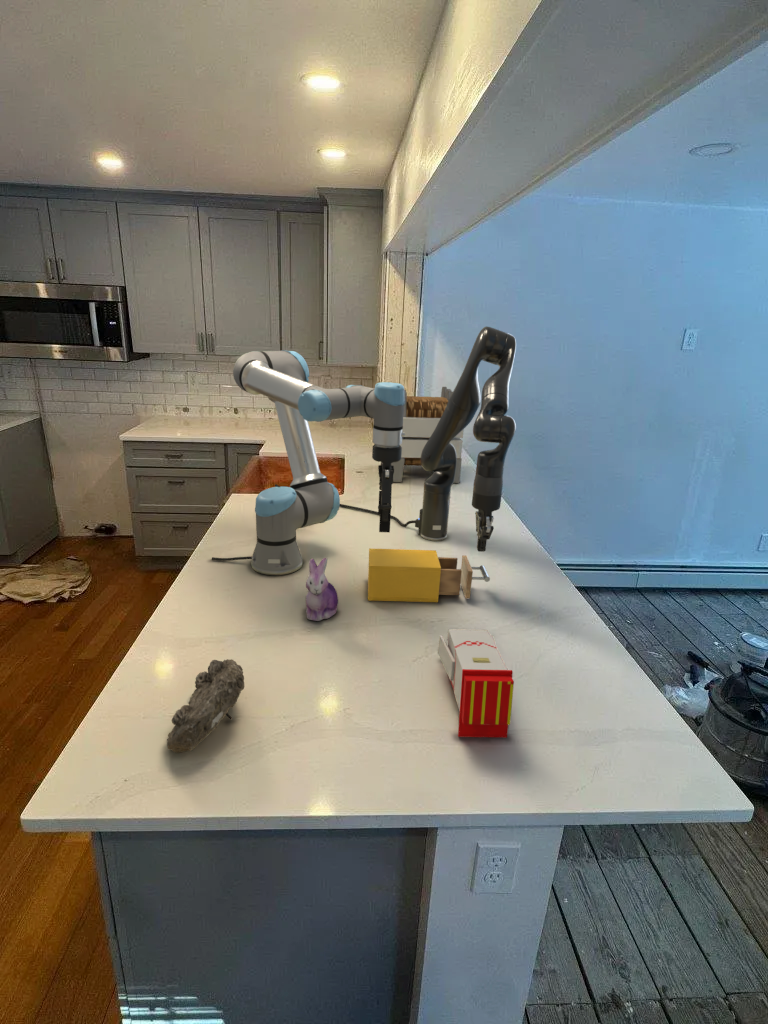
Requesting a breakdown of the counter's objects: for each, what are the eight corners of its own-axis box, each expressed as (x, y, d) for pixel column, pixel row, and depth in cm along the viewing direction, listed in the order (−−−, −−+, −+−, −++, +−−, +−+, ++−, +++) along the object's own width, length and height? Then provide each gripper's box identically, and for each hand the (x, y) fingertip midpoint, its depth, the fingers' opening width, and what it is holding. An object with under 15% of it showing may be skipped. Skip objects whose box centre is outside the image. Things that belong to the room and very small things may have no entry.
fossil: (192, 660, 117) (244, 628, 112) (224, 691, 120) (276, 661, 115) (142, 746, 98) (202, 712, 93) (182, 779, 101) (242, 748, 96)
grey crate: (382, 463, 289) (386, 382, 275) (445, 464, 293) (451, 384, 279) (390, 482, 257) (394, 392, 243) (460, 483, 261) (468, 394, 247)
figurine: (311, 626, 140) (311, 571, 135) (297, 607, 148) (296, 554, 143) (346, 618, 144) (347, 564, 139) (330, 600, 152) (331, 549, 147)
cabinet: (433, 583, 165) (436, 550, 162) (438, 602, 154) (441, 567, 151) (367, 581, 164) (369, 548, 161) (367, 600, 154) (369, 565, 150)
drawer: (481, 582, 165) (484, 556, 162) (488, 599, 155) (492, 571, 152) (403, 579, 164) (404, 553, 161) (405, 597, 154) (407, 569, 151)
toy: (488, 613, 130) (523, 677, 101) (484, 667, 133) (517, 744, 104) (435, 612, 130) (455, 676, 101) (432, 666, 133) (451, 743, 103)
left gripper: (404, 457, 133) (400, 540, 141) (399, 434, 157) (395, 507, 164) (373, 456, 133) (369, 539, 140) (372, 433, 156) (369, 506, 164)
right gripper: (507, 498, 144) (499, 561, 150) (496, 483, 156) (489, 541, 162) (478, 497, 143) (471, 560, 149) (469, 482, 156) (463, 540, 162)
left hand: (383, 522), depth 152 cm, fingers open, 13 cm apart
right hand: (480, 550), depth 156 cm, fingers closed
